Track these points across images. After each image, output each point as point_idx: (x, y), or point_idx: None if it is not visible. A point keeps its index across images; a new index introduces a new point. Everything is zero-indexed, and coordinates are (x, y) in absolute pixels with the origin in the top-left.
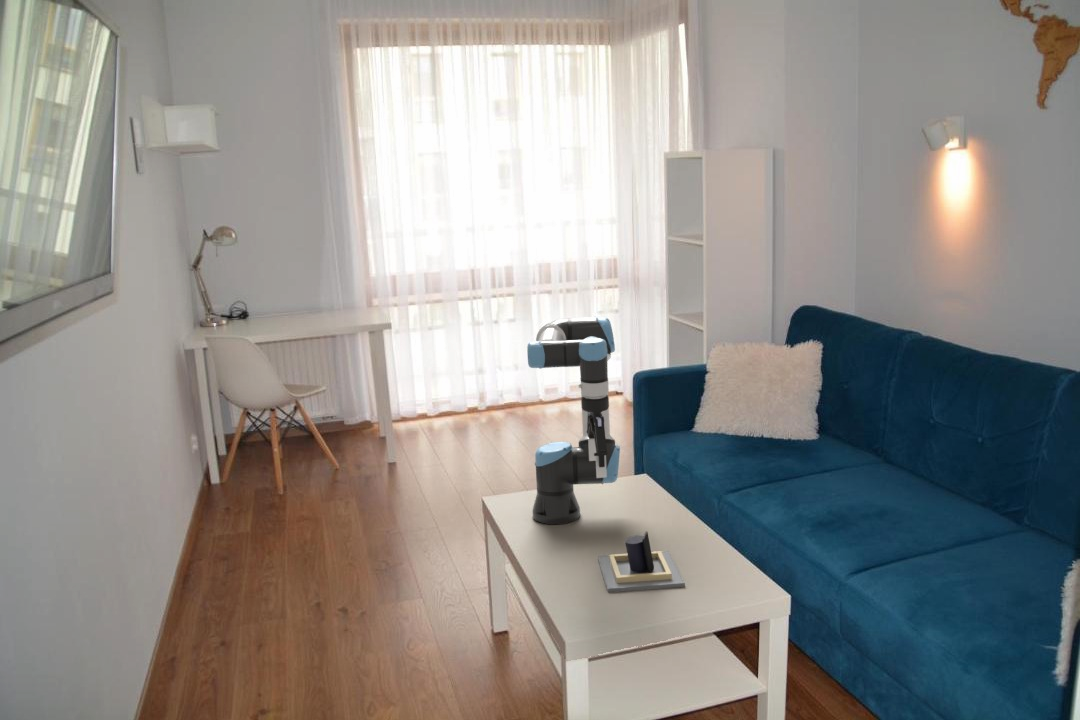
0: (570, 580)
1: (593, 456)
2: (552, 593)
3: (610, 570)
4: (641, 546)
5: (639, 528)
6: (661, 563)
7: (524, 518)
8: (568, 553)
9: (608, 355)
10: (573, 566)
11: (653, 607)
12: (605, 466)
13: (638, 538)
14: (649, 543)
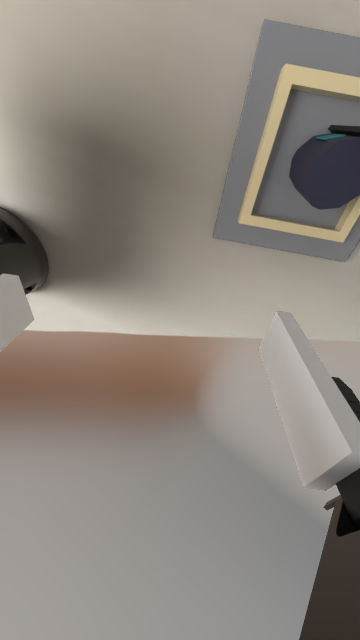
0: (265, 298)
1: (10, 315)
2: None
3: (282, 234)
4: None
5: (67, 62)
6: (345, 95)
7: None
8: (170, 275)
9: None
10: (220, 282)
11: None
12: (315, 362)
13: (341, 165)
14: (357, 126)
